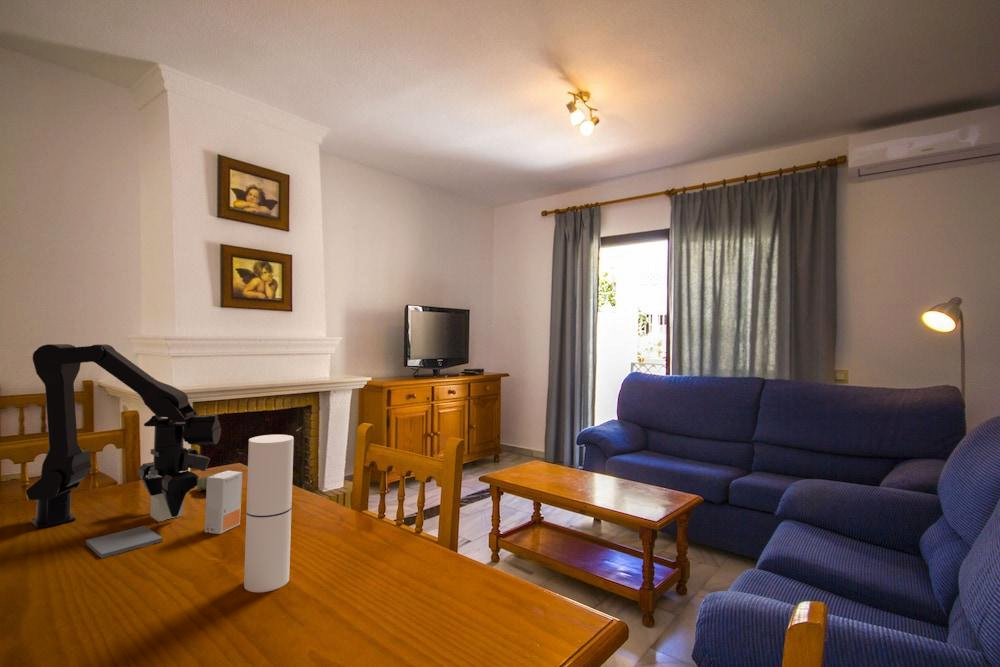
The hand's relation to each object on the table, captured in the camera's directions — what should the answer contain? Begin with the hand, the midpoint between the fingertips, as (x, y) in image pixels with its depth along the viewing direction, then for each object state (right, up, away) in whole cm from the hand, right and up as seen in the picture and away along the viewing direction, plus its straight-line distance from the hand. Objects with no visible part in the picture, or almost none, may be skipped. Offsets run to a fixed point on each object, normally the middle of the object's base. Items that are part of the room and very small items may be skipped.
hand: (166, 511), depth 115 cm
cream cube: (0, -1, 0) cm, 1 cm away
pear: (-1, -2, +19) cm, 19 cm away
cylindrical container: (+37, -2, -29) cm, 47 cm away
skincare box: (+17, -2, -6) cm, 18 cm away
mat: (+1, -1, -15) cm, 15 cm away
